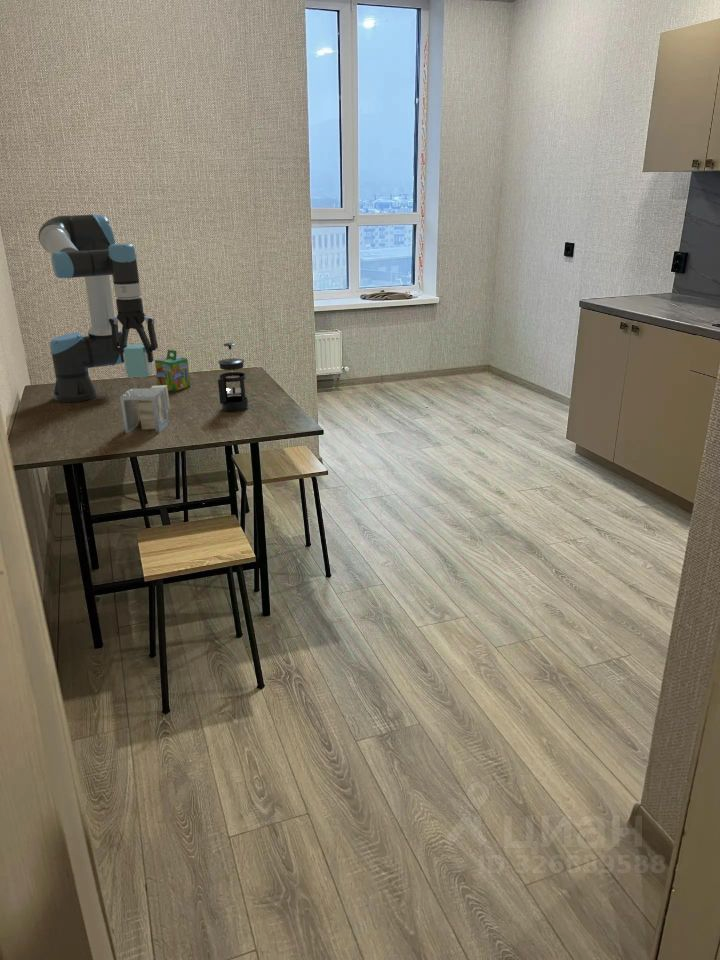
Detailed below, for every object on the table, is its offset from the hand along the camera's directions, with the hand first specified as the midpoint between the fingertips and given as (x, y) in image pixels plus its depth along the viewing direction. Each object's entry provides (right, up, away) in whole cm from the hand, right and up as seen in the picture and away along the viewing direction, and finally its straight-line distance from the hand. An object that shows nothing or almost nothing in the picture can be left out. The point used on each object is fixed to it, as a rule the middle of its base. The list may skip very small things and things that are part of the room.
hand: (139, 372), depth 221 cm
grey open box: (0, -17, +7) cm, 19 cm away
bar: (+1, -13, +17) cm, 22 cm away
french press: (+25, -9, +27) cm, 38 cm away
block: (0, -1, +1) cm, 1 cm away
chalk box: (-3, +2, +55) cm, 55 cm away
